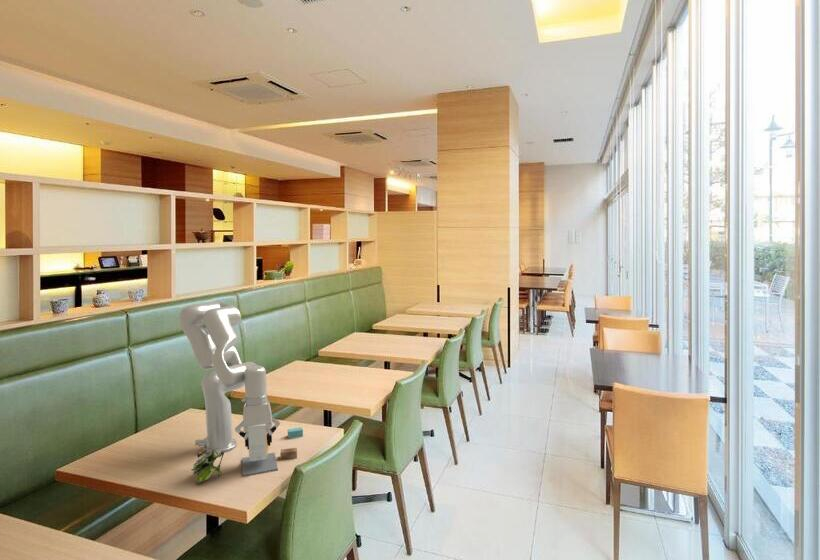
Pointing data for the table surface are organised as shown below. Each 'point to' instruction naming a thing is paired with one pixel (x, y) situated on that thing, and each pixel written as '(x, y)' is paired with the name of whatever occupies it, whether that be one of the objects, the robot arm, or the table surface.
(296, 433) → the teal block
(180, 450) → the table surface
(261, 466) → the charcoal mat
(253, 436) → the small box
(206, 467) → the passion flower
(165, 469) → the table surface
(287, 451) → the walnut block
